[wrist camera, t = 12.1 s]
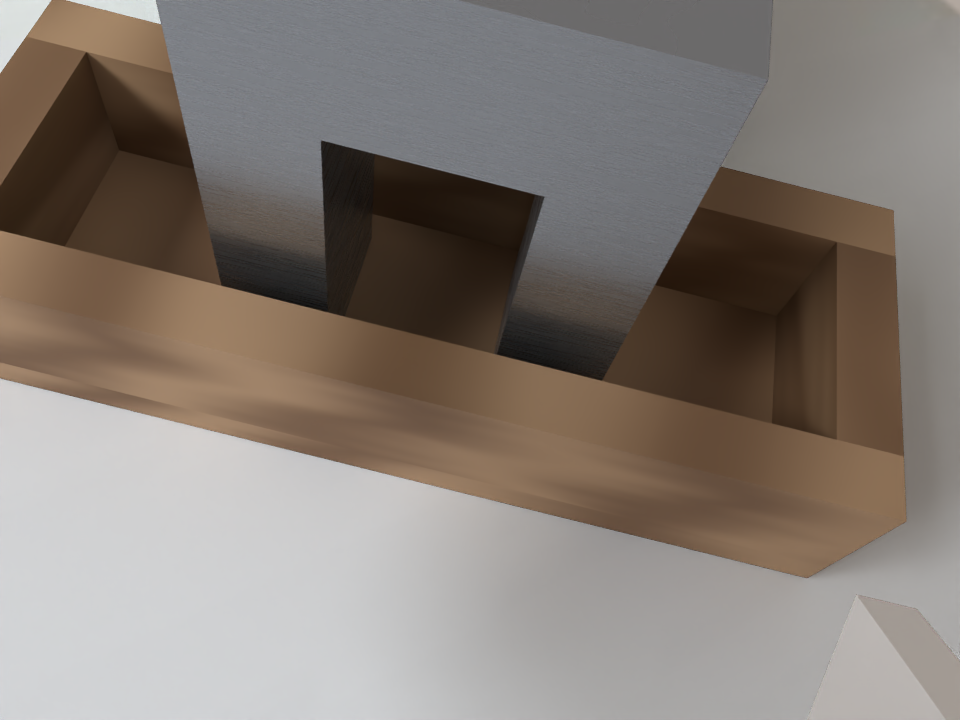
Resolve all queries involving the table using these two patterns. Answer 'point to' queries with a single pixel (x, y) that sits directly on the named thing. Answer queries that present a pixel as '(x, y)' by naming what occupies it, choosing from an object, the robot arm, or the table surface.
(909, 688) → the robot arm
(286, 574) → the table surface
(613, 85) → the grey arch block
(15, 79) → the wooden planter box
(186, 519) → the table surface
